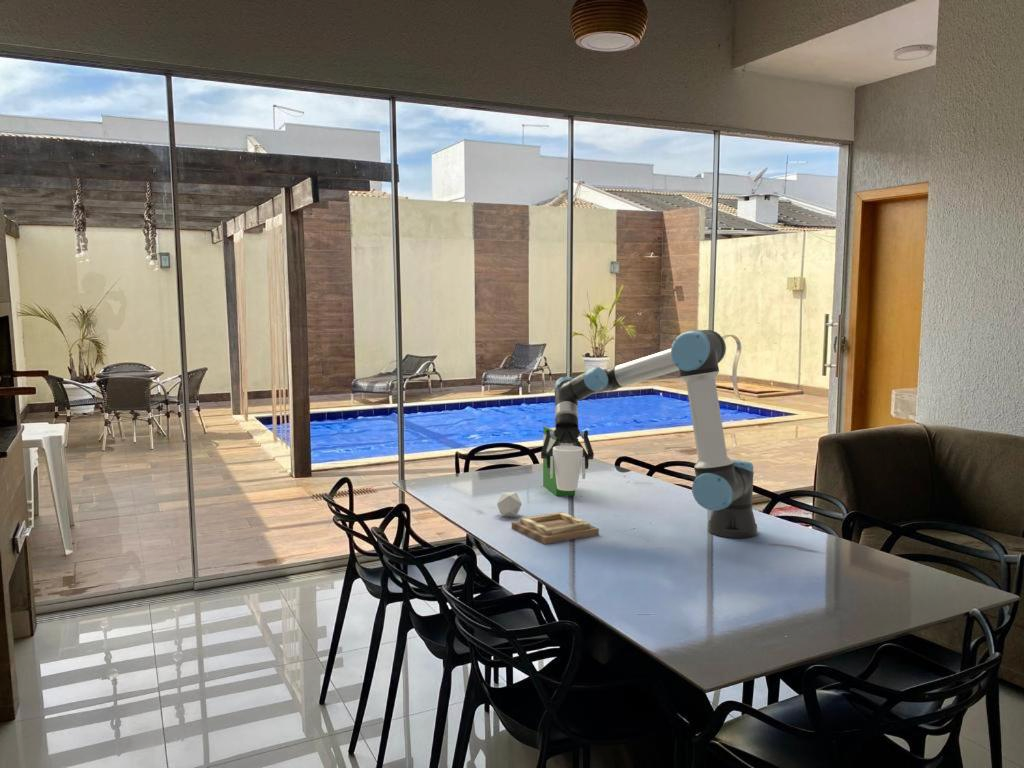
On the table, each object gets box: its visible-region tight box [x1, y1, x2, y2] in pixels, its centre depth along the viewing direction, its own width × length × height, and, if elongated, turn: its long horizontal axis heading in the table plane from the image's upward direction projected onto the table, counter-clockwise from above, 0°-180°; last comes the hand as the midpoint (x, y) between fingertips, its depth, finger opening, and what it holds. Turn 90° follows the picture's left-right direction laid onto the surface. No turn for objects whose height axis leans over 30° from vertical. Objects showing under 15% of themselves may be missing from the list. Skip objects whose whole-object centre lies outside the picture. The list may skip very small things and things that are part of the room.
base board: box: [511, 511, 600, 545], centre depth 254 cm, size 20×20×4 cm
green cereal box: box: [542, 425, 576, 497], centre depth 310 cm, size 18×7×24 cm, turn 14°
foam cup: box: [553, 445, 584, 491], centre depth 254 cm, size 10×9×13 cm
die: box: [496, 492, 522, 518], centre depth 274 cm, size 8×9×10 cm
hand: (567, 476), depth 251 cm, fingers closed on foam cup, 9 cm apart
